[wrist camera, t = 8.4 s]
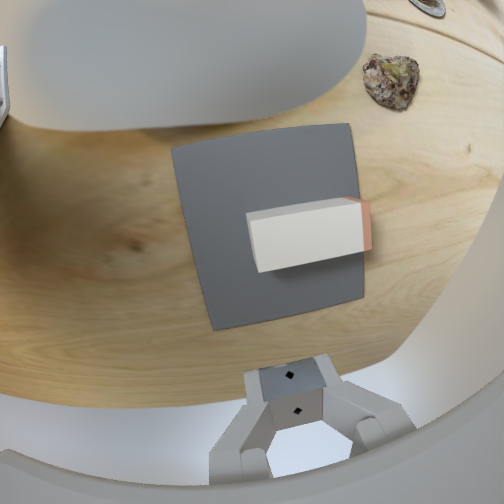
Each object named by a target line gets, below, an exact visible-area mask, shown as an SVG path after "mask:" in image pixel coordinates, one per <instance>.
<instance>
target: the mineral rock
mask: <svg viewBox="0 0 504 504" xmlns="http://www.w3.org/2000/svg"><path fill="white" fill-rule="evenodd" d="M363 70H364V71H365V75H364V79H363V80H364V85H365V87H366V90H367V91H368V92H369V93H370V95H371V96H373V97H374V98H375V99H376V101H377V102H378V103H379V104H380V105H385V106H388V107H393V108H396V109H401V108H406V107H407V104H408V103H409V101H410V100H411V98H412V94H414V92H415V87H416V85H417V81H418V80H417V79H418V78H417V77H418V73H419V71H420V70H419V67H418V64H417V62H416V61H415V60H414V59H412V58H409V57H406V56H405V57H401V56H395V57H386V56H383V57H382V56H380V55H378V54H374V55H373V54H372V58H369V60H368V62H367V63H366V65H364V66H363Z"/></svg>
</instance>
